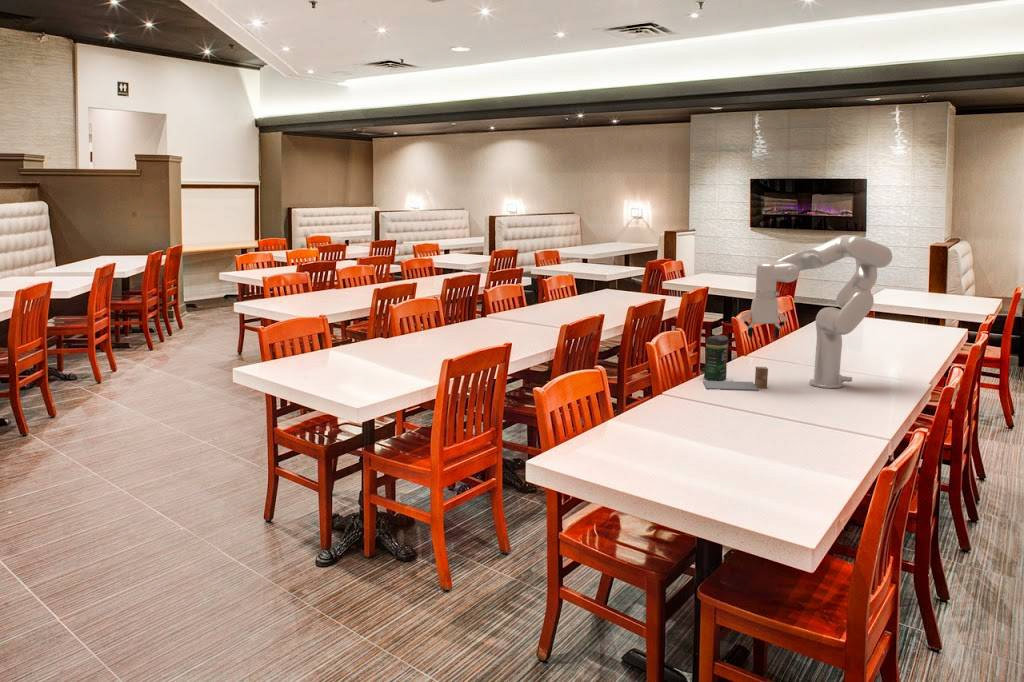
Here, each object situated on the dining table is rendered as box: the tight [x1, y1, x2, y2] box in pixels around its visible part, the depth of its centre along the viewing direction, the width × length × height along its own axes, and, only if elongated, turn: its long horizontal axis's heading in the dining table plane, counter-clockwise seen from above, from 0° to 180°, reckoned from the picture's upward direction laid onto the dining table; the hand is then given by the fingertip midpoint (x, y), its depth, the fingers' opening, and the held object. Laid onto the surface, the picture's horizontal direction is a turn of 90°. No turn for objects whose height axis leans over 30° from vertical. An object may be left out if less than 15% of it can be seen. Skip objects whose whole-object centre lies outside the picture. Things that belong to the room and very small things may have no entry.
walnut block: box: [754, 366, 769, 389], centre depth 302 cm, size 4×4×8 cm
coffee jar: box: [703, 334, 729, 381], centre depth 315 cm, size 10×8×19 cm
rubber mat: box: [702, 380, 760, 392], centre depth 304 cm, size 20×13×1 cm, turn 83°
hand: (763, 337), depth 299 cm, fingers open, 9 cm apart
